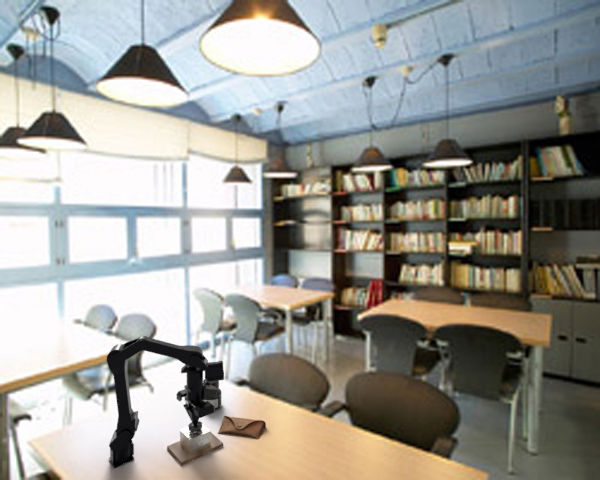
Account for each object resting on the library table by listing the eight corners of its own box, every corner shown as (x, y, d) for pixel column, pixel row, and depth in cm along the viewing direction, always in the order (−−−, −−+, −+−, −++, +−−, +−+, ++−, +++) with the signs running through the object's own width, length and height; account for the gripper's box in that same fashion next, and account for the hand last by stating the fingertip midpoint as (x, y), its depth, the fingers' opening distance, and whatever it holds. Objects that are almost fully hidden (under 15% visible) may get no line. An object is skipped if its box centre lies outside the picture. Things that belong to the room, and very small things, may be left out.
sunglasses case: (215, 434, 140) (218, 414, 143) (221, 434, 146) (224, 415, 149) (260, 439, 136) (262, 419, 139) (264, 439, 142) (266, 420, 146)
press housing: (190, 454, 125) (189, 439, 125) (180, 444, 131) (180, 429, 131) (210, 445, 131) (210, 430, 131) (200, 435, 137) (200, 421, 136)
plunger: (192, 447, 128) (192, 430, 127) (186, 441, 131) (186, 424, 131) (204, 441, 131) (204, 425, 131) (198, 435, 134) (198, 419, 134)
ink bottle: (196, 409, 158) (196, 382, 157) (207, 400, 166) (206, 374, 166) (215, 413, 155) (215, 385, 155) (225, 403, 164) (225, 377, 163)
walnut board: (181, 465, 121) (181, 462, 121) (167, 449, 130) (167, 446, 130) (223, 446, 132) (223, 443, 132) (207, 432, 141) (207, 429, 141)
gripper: (227, 384, 129) (228, 427, 129) (203, 368, 142) (203, 407, 143) (199, 394, 121) (199, 439, 122) (175, 376, 135) (176, 417, 135)
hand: (195, 424), depth 131 cm, fingers closed, pressing on plunger
